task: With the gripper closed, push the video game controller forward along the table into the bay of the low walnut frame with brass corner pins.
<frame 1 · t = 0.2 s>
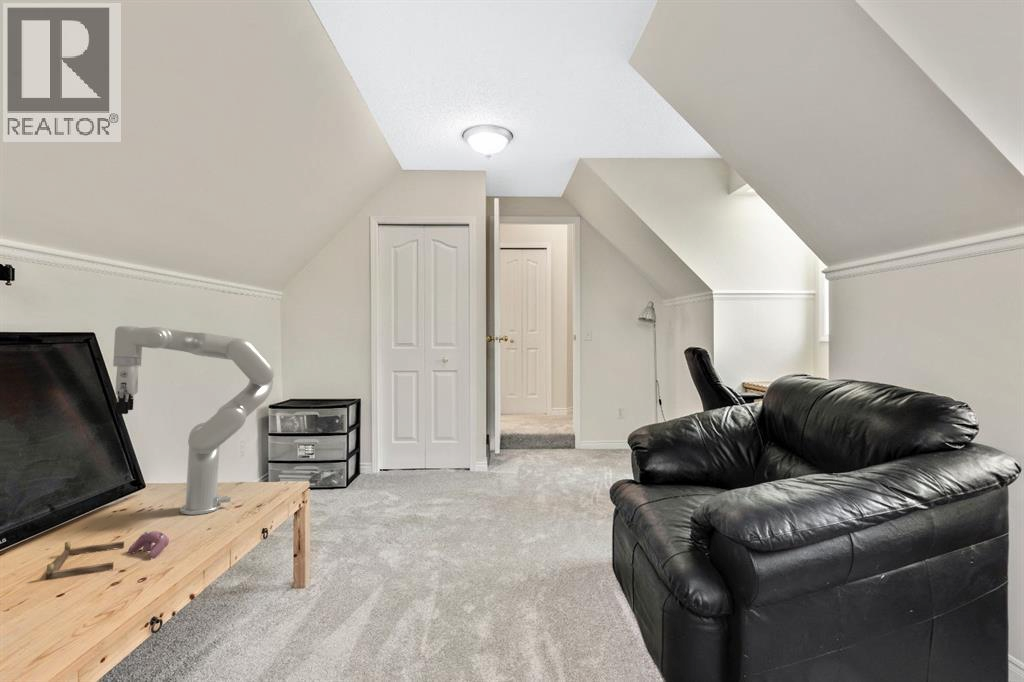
hand: (124, 411, 163), 37 cm above the table, tool pointing down, fingers open, 9 cm apart
video game controller: (148, 554, 139), on the table
layout frame: (90, 561, 132), on the table
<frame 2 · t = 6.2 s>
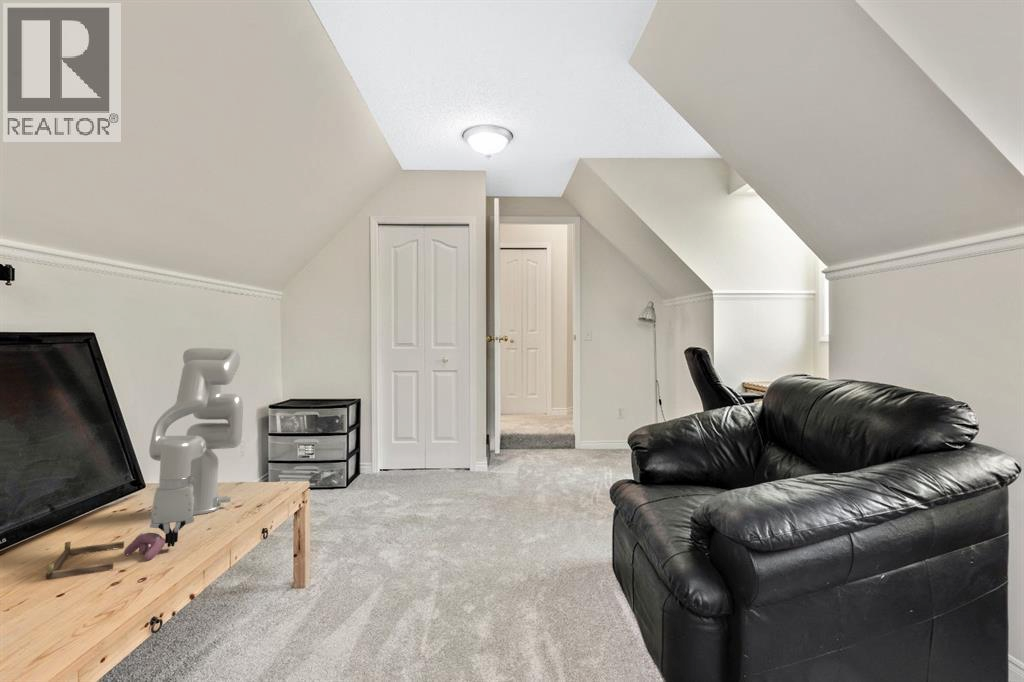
hand: (171, 544, 141), 2 cm above the table, tool pointing down, fingers closed
video game controller: (144, 555, 137), on the table, touching gripper
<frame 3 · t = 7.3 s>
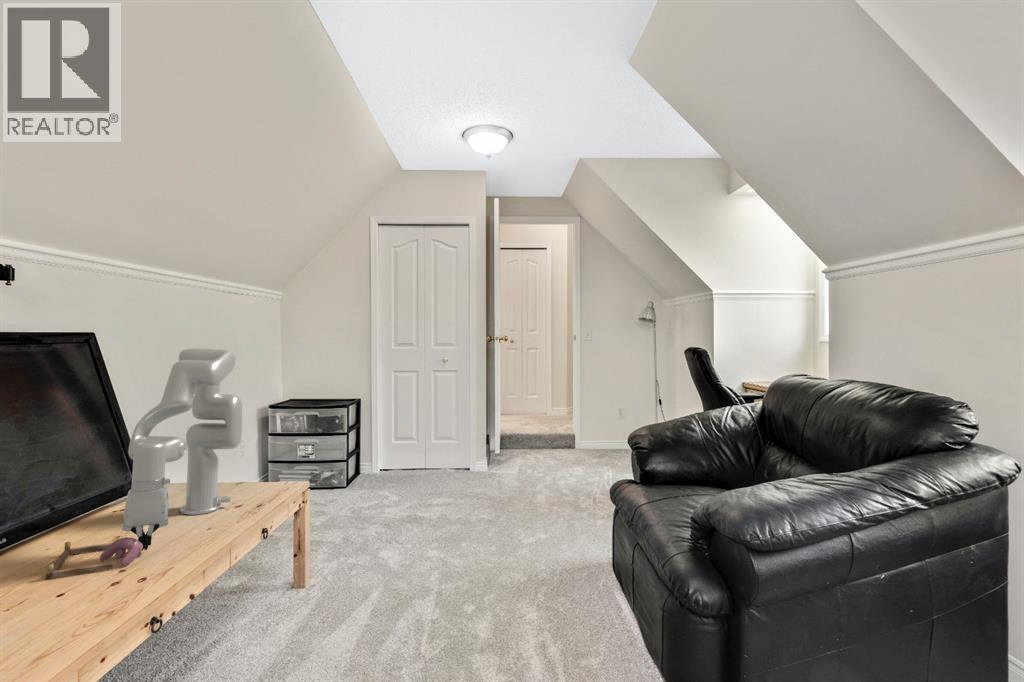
hand: (144, 548, 138), 2 cm above the table, tool pointing down, fingers closed
video game controller: (121, 561, 133), on the table, touching gripper
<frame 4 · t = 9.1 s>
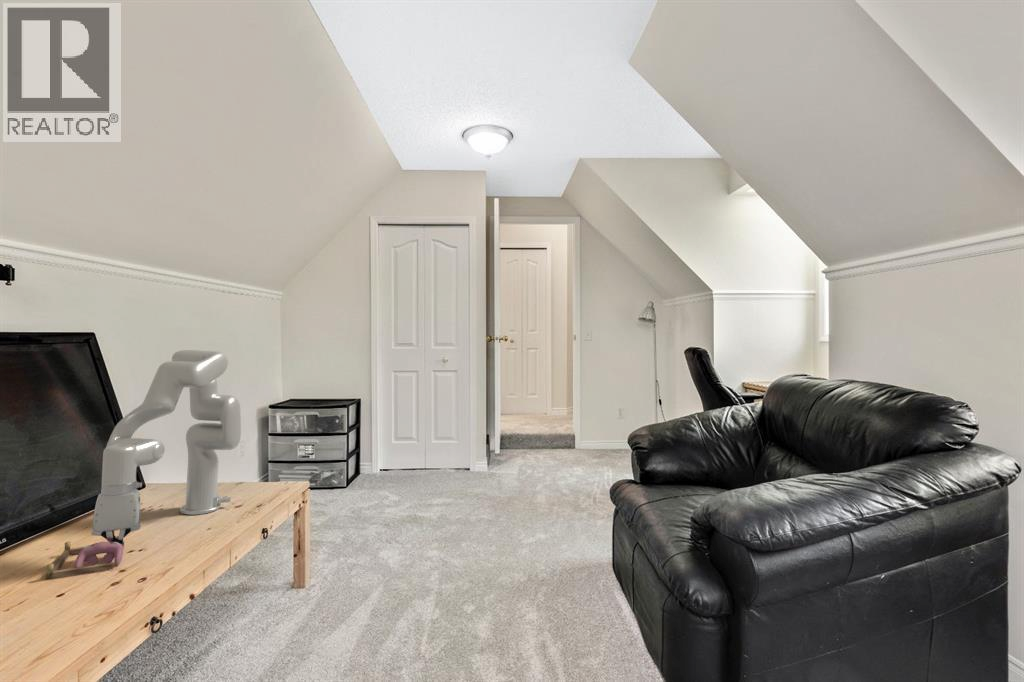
hand: (115, 552, 135), 1 cm above the table, tool pointing down, fingers closed
video game controller: (99, 566, 130), on the table, touching gripper, layout frame
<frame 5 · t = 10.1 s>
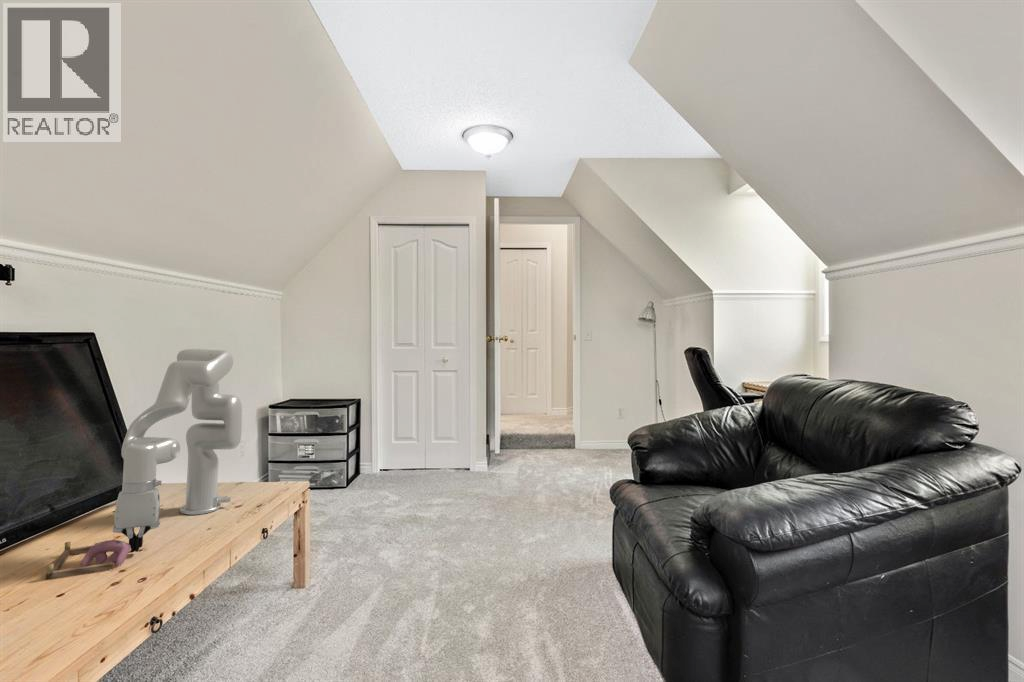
hand: (135, 550, 137), 1 cm above the table, tool pointing down, fingers closed
video game controller: (106, 564, 131), on the table
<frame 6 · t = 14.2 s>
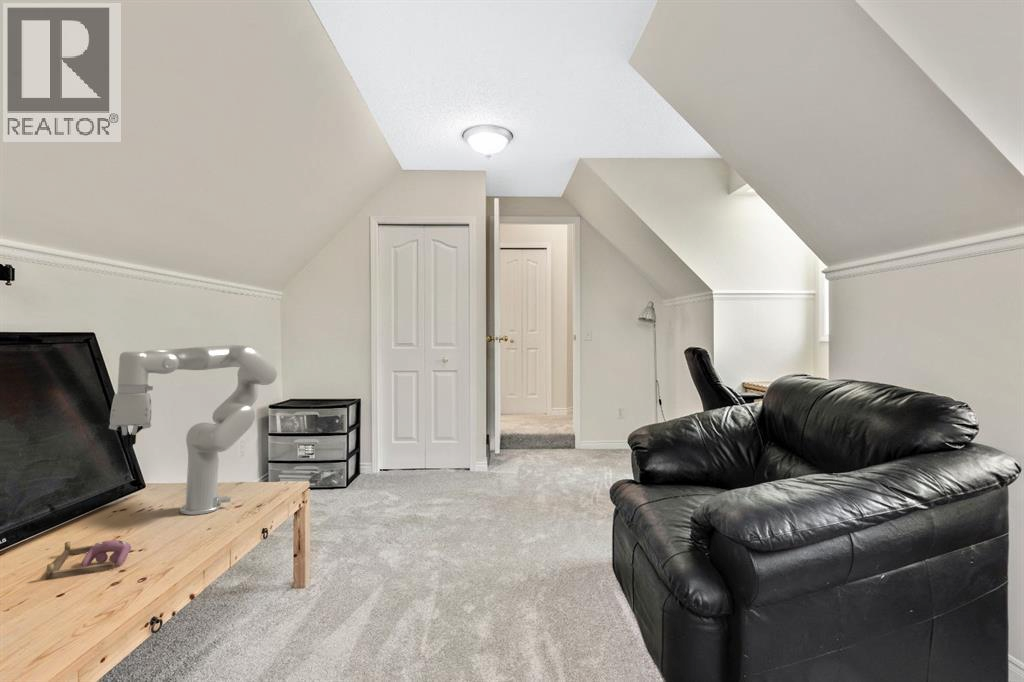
hand: (129, 446, 153), 27 cm above the table, tool pointing down, fingers closed
nothing on the table moved.
at the end: video game controller inside the target area on the layout frame (5.0 cm from its centre), point 0.0 cm above the layout frame's base; video game controller tilted 0°; the gripper is holding nothing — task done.
